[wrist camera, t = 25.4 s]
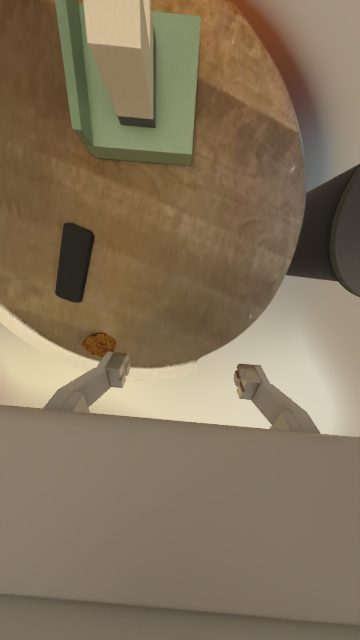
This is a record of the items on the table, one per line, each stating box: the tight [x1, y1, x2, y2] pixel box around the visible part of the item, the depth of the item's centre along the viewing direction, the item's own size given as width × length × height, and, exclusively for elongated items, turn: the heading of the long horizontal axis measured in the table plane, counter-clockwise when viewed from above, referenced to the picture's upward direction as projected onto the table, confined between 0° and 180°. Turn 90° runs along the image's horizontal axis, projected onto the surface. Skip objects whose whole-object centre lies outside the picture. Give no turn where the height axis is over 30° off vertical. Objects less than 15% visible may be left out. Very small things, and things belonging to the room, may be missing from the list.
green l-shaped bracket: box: [55, 0, 201, 166], centre depth 21 cm, size 16×13×6 cm
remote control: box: [55, 223, 94, 303], centre depth 31 cm, size 5×2×15 cm
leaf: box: [82, 333, 115, 357], centre depth 37 cm, size 6×7×2 cm
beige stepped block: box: [83, 0, 156, 128], centre depth 17 cm, size 8×5×9 cm, turn 176°
